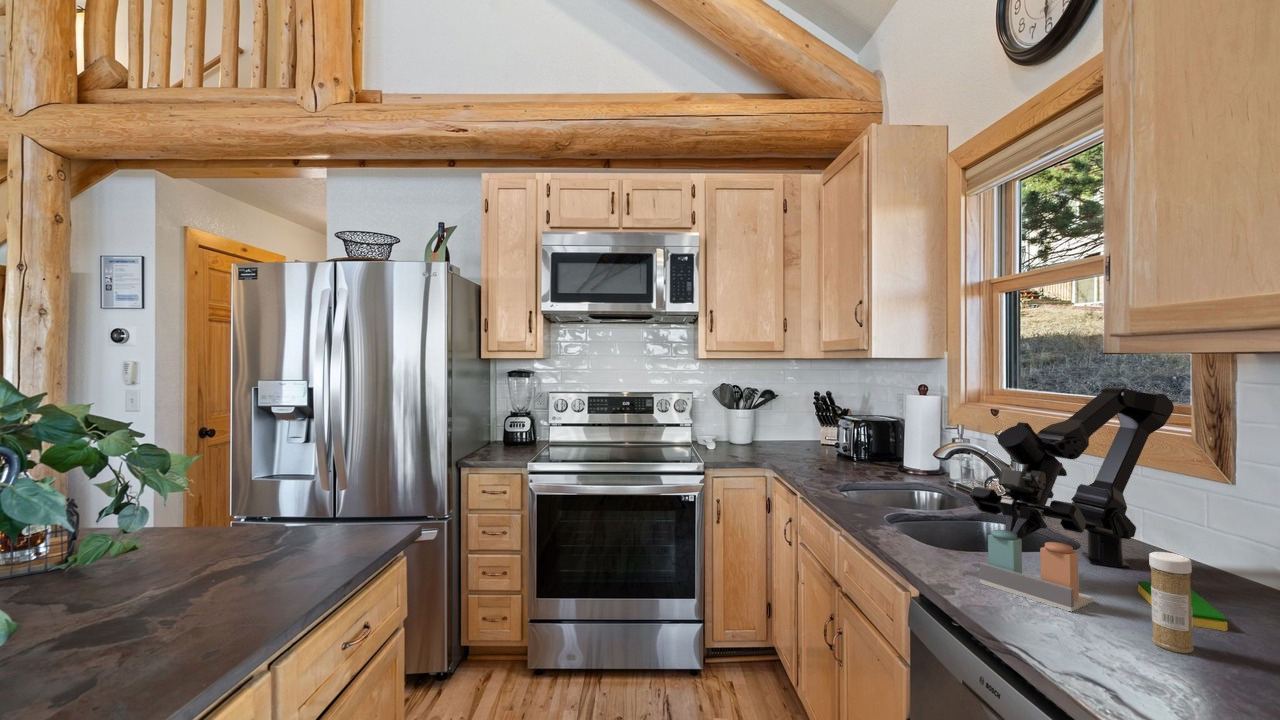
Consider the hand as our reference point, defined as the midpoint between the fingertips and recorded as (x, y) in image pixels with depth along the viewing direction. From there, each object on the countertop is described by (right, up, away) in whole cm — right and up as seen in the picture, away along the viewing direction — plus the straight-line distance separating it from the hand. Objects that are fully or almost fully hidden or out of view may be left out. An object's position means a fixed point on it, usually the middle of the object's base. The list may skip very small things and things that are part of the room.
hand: (1009, 543), depth 107 cm
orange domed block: (+3, -6, -9) cm, 11 cm away
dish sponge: (+21, -8, -12) cm, 25 cm away
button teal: (-1, -6, -1) cm, 7 cm away
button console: (+2, -7, -5) cm, 9 cm away
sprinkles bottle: (+8, -7, -25) cm, 27 cm away
